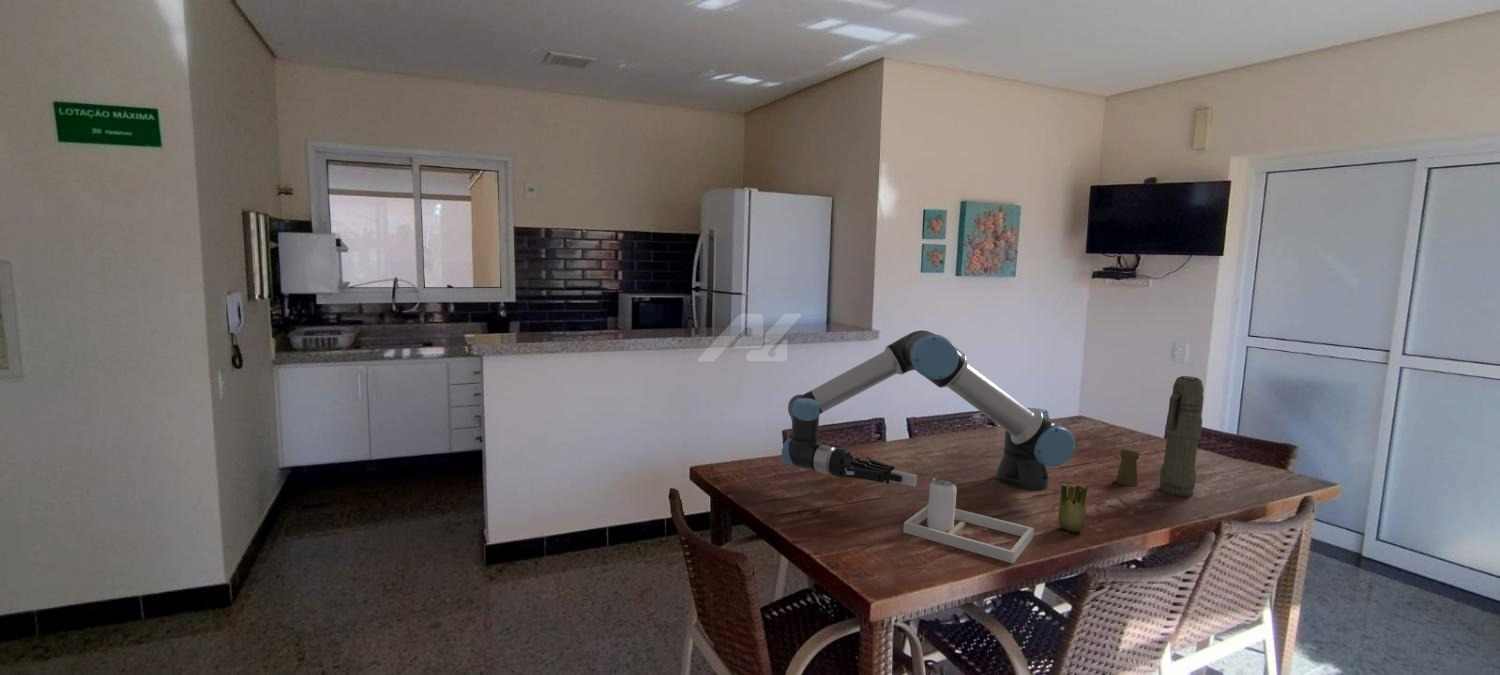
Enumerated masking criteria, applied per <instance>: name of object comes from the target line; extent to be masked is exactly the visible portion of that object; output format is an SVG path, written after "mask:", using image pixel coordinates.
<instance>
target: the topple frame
mask: <svg viewBox="0 0 1500 675" xmlns="http://www.w3.org/2000/svg"><path fill="white" fill-rule="evenodd" d="M927 517H928V504H927V505H926V506H924V507H923V508H922V509H920V510H919V511H917V512H916V513H915V514H914V515H912V516H910V517H909V518H908V519H907V520H905V521H904V522H903V531H902V533H905V534H908V535H911V536H915V537H919V538H922V539H925V540H930V541H933V542H936V543H940V544H942V545H947V546H950V547H954V548H957V549H960V550H964V551H967V552H972V553H975V554H977V555H978V554H979V555H980V556H981V555H982V556H985V557H988V558H992V559H996V560H999V561H1002V562H1007V563H1009V564H1015V562H1016V560H1017V559H1018V558H1019V557H1020V555H1021V554H1022V553H1023V552H1024V550H1025V549H1026V548H1027V546H1028V545H1029V544H1030V542H1031V541H1033V539H1034V532H1035V530H1034V529H1035V528H1033V527H1031V526H1026V525H1023V524H1018V523H1014V522H1011V521H1007V520H1002V519H999V518H994V517H990V516H987V515H983V514H978V513H976V512H972V511H967V510H962V509H959V508H956V507H955V518H954V520H957V521H959V522H958V523H957V524H956V525H954V528H953V529H951V530H950V531H949V532H943V531H939V530H936V529H932V528H929V527H928V526H924V525H921V523H922V522H924V521H926V519H927ZM966 523H968V524H972V525H976V526H979V527H980V526H981V527H984V528H987V529H990V530H995V531H999V532H1003V533H1005V534H1006V533H1007V534H1011V535H1015V536H1017V537H1020V538H1019V539H1018V541H1016V543H1015V544H1014V545H1013V546H1012V548H1011V549H1008V548H1004V547H1001V546H998V545H993V544H989V543H986V542H982V541H979V540H975V539H971V538H968V537H964V536H960V535H957V534H959V532H960V531H961V530H962V529H964V528H965V527H966Z"/></svg>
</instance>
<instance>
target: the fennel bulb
mask: <svg viewBox="0 0 1500 675" xmlns="http://www.w3.org/2000/svg"><path fill="white" fill-rule="evenodd" d="M1060 487H1061V489H1060V490H1061V491H1060V492H1061V493H1060V501H1059V506H1058V522H1059V523H1058V524H1059V526H1060V527H1061V529H1063V530H1065V531H1068V532H1070V533H1074V534H1075V533H1080V532H1081V531H1083V530H1084V528H1085V527H1086V521H1087V511H1086V498H1087V491H1088V487H1087V486H1085V485H1081V484H1078V483H1076V484H1069V488H1068V487H1067V484H1066V483H1061V486H1060Z"/></svg>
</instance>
